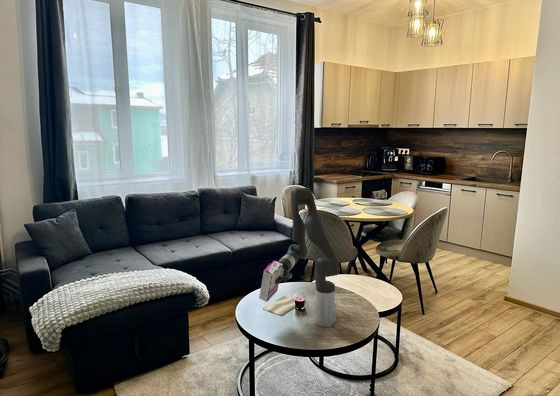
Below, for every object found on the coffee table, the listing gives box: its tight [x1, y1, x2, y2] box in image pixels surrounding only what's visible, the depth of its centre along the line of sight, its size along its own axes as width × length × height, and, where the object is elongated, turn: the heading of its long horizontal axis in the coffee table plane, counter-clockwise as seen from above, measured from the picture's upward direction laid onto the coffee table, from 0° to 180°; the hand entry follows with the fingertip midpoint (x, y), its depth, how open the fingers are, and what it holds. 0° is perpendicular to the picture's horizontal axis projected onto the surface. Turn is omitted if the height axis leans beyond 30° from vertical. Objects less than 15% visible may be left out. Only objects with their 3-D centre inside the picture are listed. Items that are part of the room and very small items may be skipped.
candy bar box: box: [258, 260, 283, 303], centre depth 184 cm, size 11×5×16 cm, turn 154°
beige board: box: [262, 295, 295, 317], centre depth 205 cm, size 12×19×1 cm, turn 144°
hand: (271, 279), depth 183 cm, fingers closed on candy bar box, 5 cm apart
